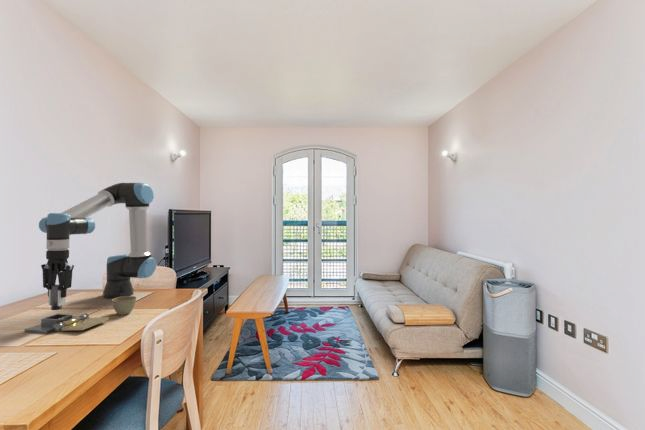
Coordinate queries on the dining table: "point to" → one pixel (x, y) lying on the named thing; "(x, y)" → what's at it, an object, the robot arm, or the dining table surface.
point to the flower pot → (124, 304)
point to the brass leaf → (82, 323)
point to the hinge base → (53, 323)
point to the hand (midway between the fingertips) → (56, 304)
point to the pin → (55, 298)
